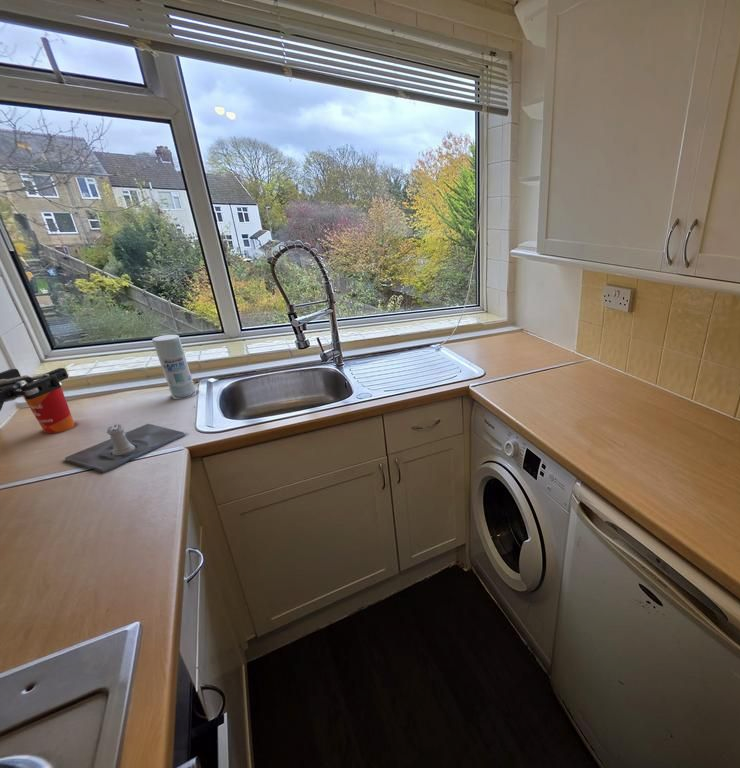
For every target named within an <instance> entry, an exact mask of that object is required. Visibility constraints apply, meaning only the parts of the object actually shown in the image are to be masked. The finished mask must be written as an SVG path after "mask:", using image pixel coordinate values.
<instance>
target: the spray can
mask: <svg viewBox="0 0 740 768" xmlns="http://www.w3.org/2000/svg"><path fill="white" fill-rule="evenodd" d="M151 340H152V344H153V346H154V350H155V353H156V355H157V357H158V360H159V363H160V367H161V370H162V372H163V375H164V377H165V380H166V383H167V386H168V389H169V392H170V395H171V397H172V399H174V400H183V399H188V398H191V397H193V396H195V395H197V390H196V387H195V383H194V379H193V377H192V374H191V371H190V368H189V364H188V361H187V357H186V354H185V351H184V347H183V344H182V341H181V338H180V335H178V334H164V335H159V336H156V337H153V338H152V339H151Z"/></svg>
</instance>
